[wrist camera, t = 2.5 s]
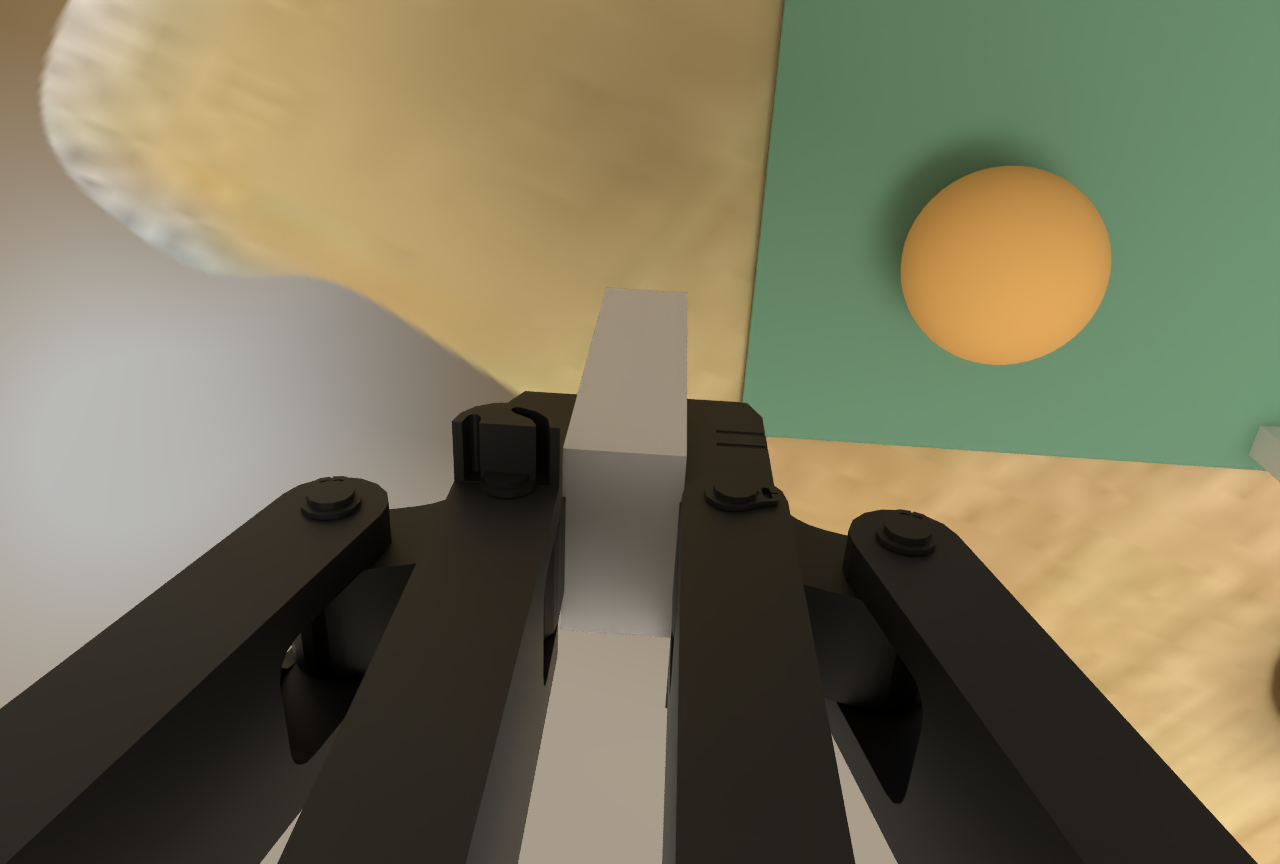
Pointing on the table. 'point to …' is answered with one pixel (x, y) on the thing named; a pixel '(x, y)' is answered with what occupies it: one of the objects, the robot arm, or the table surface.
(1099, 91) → the putting mat
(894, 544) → the robot arm
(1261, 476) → the table surface
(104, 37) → the table surface
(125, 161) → the table surface
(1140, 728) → the table surface
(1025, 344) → the orange ball
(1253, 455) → the white u-shaped frame
